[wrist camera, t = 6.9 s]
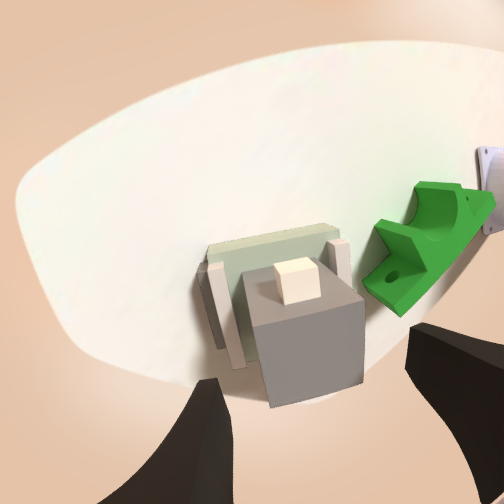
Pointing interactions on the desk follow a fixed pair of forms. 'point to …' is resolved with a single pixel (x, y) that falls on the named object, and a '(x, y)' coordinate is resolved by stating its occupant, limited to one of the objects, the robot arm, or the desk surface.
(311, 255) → the pale grey-green blocky piece
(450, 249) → the pipe clamp
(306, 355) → the dark grey block
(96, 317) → the desk surface
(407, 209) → the desk surface
